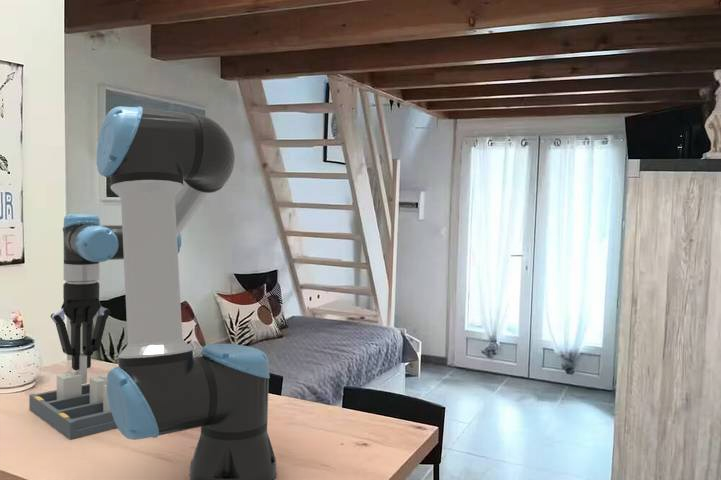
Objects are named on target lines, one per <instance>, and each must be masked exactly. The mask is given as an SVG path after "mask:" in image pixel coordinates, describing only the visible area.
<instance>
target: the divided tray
mask: <svg viewBox="0 0 721 480" xmlns="http://www.w3.org/2000/svg"><path fill="white" fill-rule="evenodd" d="M28 400H29V405H28V407H29V408H28V409H29V411H30V412H32V413H33V414H35V415H36V416H37V417H39V418H40V419H41V420H42V421H44V422H45V423H47V425H49V426H51V427H52V428H53V429H55V430H56V431H58V432H59V433H60V434H62V435H63V436H64V437H66V438H67V439H68V440H75V439H79V438H83V437H86V436H87V437H88V436H92V435H96V434H98V433H102V432H106V431H110V430H116V429H118V427H117V425H116V423H115V421H114V418H113V416H112V413H111V411H107V412H103V401H100V402H96V403H91V404H90V383H86V384H82V395H78V396H74V397H69V398H64V399H59V400H57V389H54V390H50V391H43V392H40V393H39V392H38V393H31V394H29V397H28Z"/></svg>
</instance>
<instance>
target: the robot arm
mask: <svg viewBox="0 0 721 480" xmlns="http://www.w3.org/2000/svg"><path fill="white" fill-rule="evenodd" d="M99 132H100V133H99V136H98V140H97V148H96V166H97V171H98V173H99V174H100V175H101V176H103V177H105V178H109V181H110V182H109V183H110V190H111V191H112V192H113V193H114V194H115V195H116V196H118V198H119V199H120V204H121V205H120V206H121V207H120V208H121V209H120V210H121V225H113V224H112V225H109V224H108V225H106V224H105V225H102V224H101V221H100V217H99V216H98V215H97V214H91V213H90V214H87V213H84V214H83V213H71V214H66V215H65V216H64V218H63V227H62V232H63V281H65V282H64V284H62V285H63V286H62V287H63V292H62V294H63V303H62V304H61V306H60V307H61V308H60V309H59V310H58V311H57V312H56V313H51V314H50V318H51V320H52V321H53V322H54V324H55V326H56V327H55V328H56V330H57V334H58V338H59V339H58V340H59V342H60V345H61V349H62V352H63V353H64V355H65V354H66V355H67V356H71V369H72V370H73V371H75V372H76V373H78V374H80V375H82V385H85V384H88V369H89V368H90V369H91V366H92V356H93V355H94V352H98V351H99V350H100V348H101V343H102V339H103V335H104V332H105V331H104V330H105V328H106V325H107V324H106V322H107V319H108V318H109V316H110V315H111V313H112V312H111V310H110V309H109V308H106V307H103V306H102V303H101V301H100V283H99V280H100V263H103V262H107V261H112V260H114V261H117V260H123V267H124V269H123V270H124V271H123V273H124V290H125V293H124V294H125V310H126V313H125V315H126V316H125V317H126V333H127V334H126V335H127V344H126V346H125V347H124V348H123V350H122V351H121V352H120V353H119V354H118V356H117V357H118V359H117V360H118V366H115V367H113V368H112V369H110V370H109V371H108V372H107V374H106V375H107V395H108V401H109V405H110V409H111V413H112V416H113V418H114V421H115V423H116V425H117V427H118V428H117V429H118V432H120V434H122V436H124V437H125V438H127V439H128V440H132V441H136V440H143V439H149V438H153V439H155V438H156V439H157V438H158V437H159V436H165V435H168V434H169V435H170V434H173V433H178V432H185V431H187V430H188V431H189V430H191V429H192V430H193V429H197V428H200V436H199V438H198V441H197V444H196V447H195V450H194V454H193V457H192V459H191V462H190V465H189V480H272V479H273V478H274V477H275V478H276V475H277V459H276V456H275V452H274V449H273V446H272V442H271V440H270V436H269V433H268V412H269V379H270V378H271V375H270V367H269V366H270V364H269V358H268V355H267V354H266V353H265V352H264V351H262V350H260V349H258V348H255V347H252V346H248V345H243V344H242V345H241V344H234V343H233V344H232V343H209V344H206V345H204V346H203V347H202V349H201V351H200V356H197V357H194V354H193V352H194V351H193V347H192V346H191V345H190V344H188V343H187V342H186V341H185V340H184V338H183V325H182V323H183V322H182V306H181V304H182V303H181V287H180V285H181V284H180V271H179V270H180V268H179V253H180V249H181V247H182V236H181V233H182V231H183V230H184V229H185V227H186V226H187V225H188V223H189V222H190V221H191V219H192V218H193V217H194V216H195V214H196V213H197V212H198V210H199V209H200V207H202V205H203V204H204V203H205V201H206V200H207V199H208V198H209V196H210V195H211V194H213V193H216V192H218V191H220V190H221V189H222V188H223V187H224V186H225V185H226V183H228V181H229V179H230V177H231V175H232V173H233V171H234V170H233V169H234V167H235V162H236V161H235V150H234V146H233V142H232V140H231V138H230V136H229V134H228V133H227V132H226V131H225V129H224V128H223V127H222V126H221V124H219V123H218V122H217V121H215V120H214V119H212V118H210V117H208V116H206V115H202V114H198V113H191V112H190V113H186V112H179V111H172V110H165V109H158V108H157V109H156V108H149V107H148V108H147V107H142V106H140V105H139V106H136V107H135V106H121V105H120V106H115V107H113V108H111V110H109V111H108V112H107V114H106V115H105V118H104V120H103V122H102V124H101V128H100V131H99ZM96 315H97V317H96V320H95V324H94V323H93V322H94V318H95V316H96ZM65 316H66V317H67V318H68V320H69V323H70V336H69V333H68V330H67V326H66V323H65V321H64V320H65V319H66V318H65ZM93 325H94V329H93ZM81 327H82V328H81ZM81 329H82V332H81ZM81 334H82V336H81ZM69 337H70V338H69ZM81 337H82V342H81ZM81 343H82V345H81ZM81 350H82V353H81ZM201 355H202V356H201ZM275 478H274V479H275ZM274 479H273V480H274Z"/></svg>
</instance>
